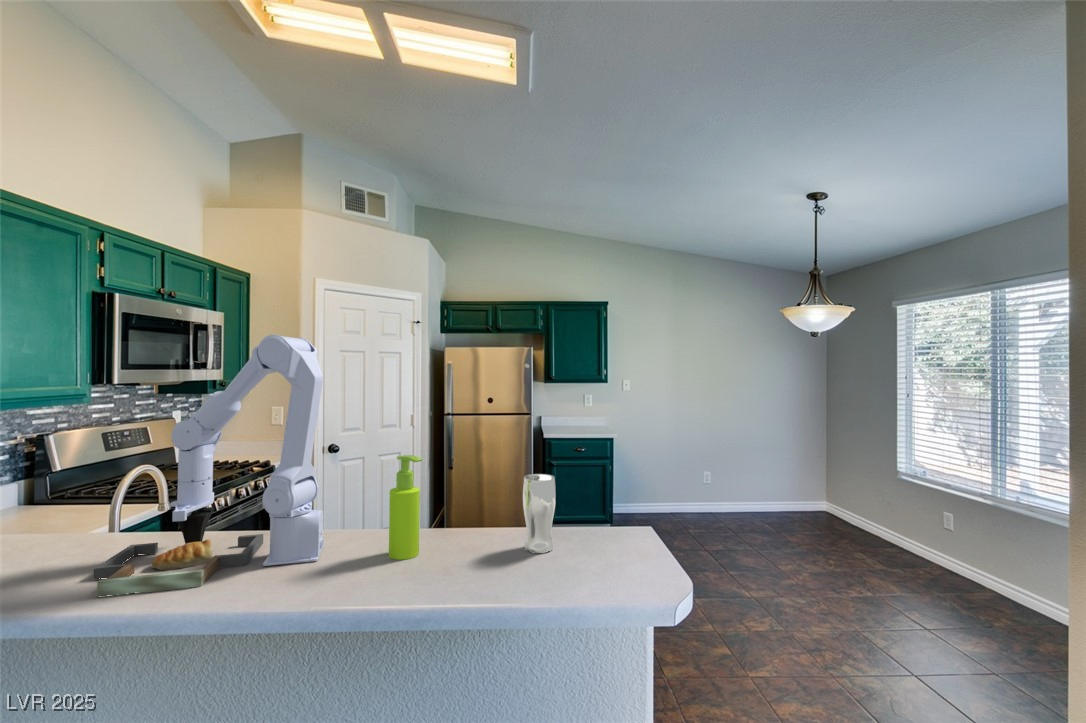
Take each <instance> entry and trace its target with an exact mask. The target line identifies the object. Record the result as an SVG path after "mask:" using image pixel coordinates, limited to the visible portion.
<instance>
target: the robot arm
mask: <svg viewBox="0 0 1086 723" xmlns="http://www.w3.org/2000/svg"><path fill="white" fill-rule="evenodd" d="M272 373H273V374H274V373H278V374H280V375H282V376H283V377H284V378H285V380H286V381H287V382H288V383H289V384H290V385H291V386H290V393H289V399H288V400H289V402H288V409H287V415H286V421H285V428H284V435H283V440H282V441H283V442H282V447H281V448H282V449H281V454H280V462H279V463H278V464H279V465H278V466H277V467H276V468H275V470H274V471H273V473H272V474H271V475H270V479H269V483H268V485H267V487H266V489H265V490H264V492H263V494H262V500H261V501H262V506H263V508H264V510H265V511H266V512H267V513H268V514H269V515H268V516H269V518H270V521H269V522H270V523H269V524H270V526H269V530H270V531H269V532H270V533H269V554H268V555H267V557H266V559H265V560H264V561H263V563H262V566H263V567H267V566H268V567H269V566H270V567H271V566H278V565H287V564H288V565H290V564H297V563H307V562H309V563H310V562H316V561H318V560H319V558H320V555H321V553H322V551H323V549H324V511H323V510H321V509H312V508H313V501H314V500H316V498H317V497H318V494H319V490H320V489H319V488H320V487H319V484H318V481H317V474H318V473H317V472H318V471H317V468H316V467H314V465H312V464H311V463H312V458H313V457H312V456H313V450H314V444H315V443H314V442H315V436H316V431H317V430H316V428H317V422H318V417H319V416H318V415H319V410H320V404H321V403H320V402H321V397H322V395H321V394H322V388H323V383H324V376H323V375H324V374H323V372H322V370H321V366H320V364H319V361H318V349H317V348H316V347H315V346H314V345H313V344H312V343H311V341H309V340H307V339H306V338H303V337H291V336H282V335H279V334H269V335H267V336H265V337H263V338H262V339H261V341H260V342H259V344H257V345H256V346H255V347H253V349H252V351H251V356H250V358H249V359H248V360H247V362H246V363H245V364H244V366H243V367H242V368H241V369H240V371H239V372H237V374H236V375H235V377H234V378H233V379H232V381H231V382H230V383H229V385H228V386H226V388H225V389H224V390H219V391H215V392H213V393H208V395H207V396H206V397H205V399H206V401H205V402H204V403H203V404H202V405H201V406H200V407H199V408H198V410H197V411H195V412H193V413H191V415H190V416H191V417H189V418H188V419H185V420H180V421H179V422H176V424H175V425H174V428H173V429H172V431H171V436H170V437H171V442H172V444H173V445H174V447H175V448H176V449H178V460H177V461H178V462H177V463H178V465H177V496H176V497H177V498H176V499H177V500H174V501H172V502H171V503H169V507H170V508H174V507H175V508H174V510H173V511H172V519H171V520H172V523H174V522H176V524H177V525H178V526H179V529H180V530H181V533H182V537H183V541H184V545H185V544H186V543H191V542H201V541H204V535H205V532H206V528H207V525H208V523H209V520H210V518H211V517H212V515H213V513H214V512H215V507H213V506H212V507H211V506H210V505H212V504H213V503H214V501H215V492H214V491H213V484H214V483H213V482H214V481H213V480H214V478H213V477H214V476H213V475H214V454H215V452H216V447H217V444H218V442H219V441H220V440H221V437H222V434H223V433H222V432H221V431H222V430H223V429H224V428H225V427H226V425H228V424H229V422H230V421H232V419H233V418H234V417H235V416H236V415H237V414H238V413H239V411H240V410H241V409H242V403H241V400H243V399H244V398H245V397H246V396H247V395H248V394H249V393H250V392H251V391H252V389H254V388H255V387H256V386H257V385H258V384H259V383H260V382H261V381H262V380H263V379H265V377H267V376H268V375H270V374H272Z"/></svg>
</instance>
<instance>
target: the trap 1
mask: <svg viewBox="0 0 1086 723" xmlns="http://www.w3.org/2000/svg"><path fill="white" fill-rule="evenodd" d="M158 546H159V543H158V542H149V543H138V544H136V543H135V544H130V545H129V546H126V547H125V548H124V549H122V550H120V551H119V552H117V553H116V554H114V555H113V556H111V557H110V558H108V559H107V560H105V561H103V562H102V563H100V564H99V565H98V566H96V567H94V568H93V578H92V579H99V578H100V580H101V578H108V577H110V576H111V575H112V574H114V573H115V572H117V571H118V570H120V569H121V568H122V567H124V566H125V565H127V564H128V563H126V562H127V561H126V560H127V559H129V558H130V557H132V556H133V555H138V554H154V555H156V554H157V552H159V551H158ZM155 553H156V554H155ZM132 558H133V557H132ZM129 560H130V559H129ZM125 561H126V562H125ZM123 562H125V563H124V564H122V563H123Z"/></svg>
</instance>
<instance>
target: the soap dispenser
mask: <svg viewBox="0 0 1086 723" xmlns="http://www.w3.org/2000/svg"><path fill="white" fill-rule="evenodd" d="M396 458H397V460H399V461H400V470H398V471H397V472H396V481H395V482H396V486H395V487H393V488H391V489H390V490H389V515H388V516H389V518H388V524H389V526H388V527H389V528H388V558H390V559H391V560H394V561H395V560H396V561H406V560H410V559H413V558H416V557H417V556H418V555H419V554H420V499H421V498H420V496H421V495H420V494H421V490H420V487H418V486H414V482H415V480H414V479H415V478H414V477H415V476H414V474H415V473H414V471H413V470H411V469H410V462H412V463H418V462H422V461H423V458H421V457H419V456H416V455H413V454H411V455H409V454H407V455H406V454H403V455H398V456H397V457H396Z"/></svg>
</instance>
